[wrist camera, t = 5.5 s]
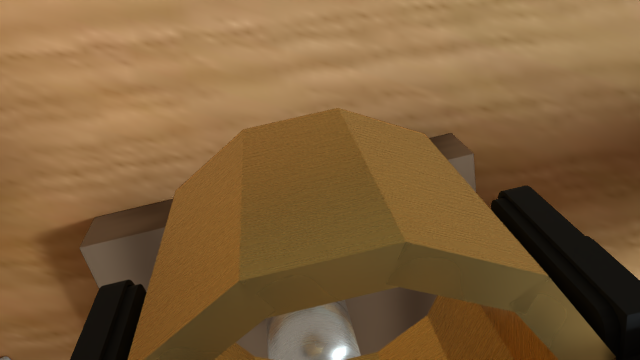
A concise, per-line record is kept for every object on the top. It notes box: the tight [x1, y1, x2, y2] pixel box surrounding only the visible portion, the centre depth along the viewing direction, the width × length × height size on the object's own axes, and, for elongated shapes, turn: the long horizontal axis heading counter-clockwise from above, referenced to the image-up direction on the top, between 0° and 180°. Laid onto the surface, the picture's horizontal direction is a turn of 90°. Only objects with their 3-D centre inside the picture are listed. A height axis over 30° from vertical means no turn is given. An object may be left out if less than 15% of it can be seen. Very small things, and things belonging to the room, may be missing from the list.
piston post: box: [266, 300, 361, 360], centre depth 25 cm, size 4×4×7 cm
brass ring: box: [128, 108, 616, 360], centre depth 10 cm, size 7×7×5 cm
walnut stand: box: [80, 133, 476, 359], centre depth 30 cm, size 20×14×3 cm
